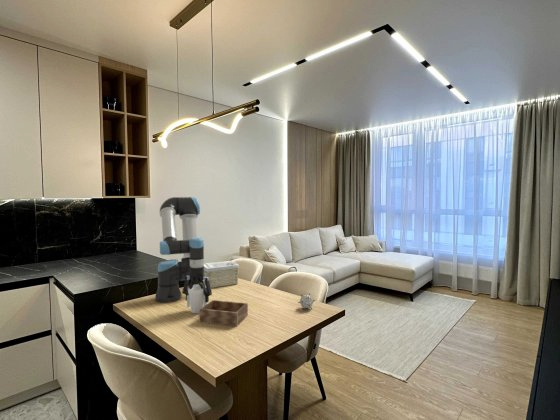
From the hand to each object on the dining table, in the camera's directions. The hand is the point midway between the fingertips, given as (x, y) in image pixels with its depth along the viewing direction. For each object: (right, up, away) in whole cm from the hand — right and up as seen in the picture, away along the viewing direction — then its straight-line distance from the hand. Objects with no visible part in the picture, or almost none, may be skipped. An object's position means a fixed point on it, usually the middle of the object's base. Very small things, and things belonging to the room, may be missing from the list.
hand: (197, 307), depth 164 cm
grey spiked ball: (+60, -2, +4) cm, 60 cm away
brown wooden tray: (+17, -2, -11) cm, 20 cm away
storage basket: (+2, -1, +53) cm, 53 cm away
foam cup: (0, -2, 0) cm, 2 cm away
